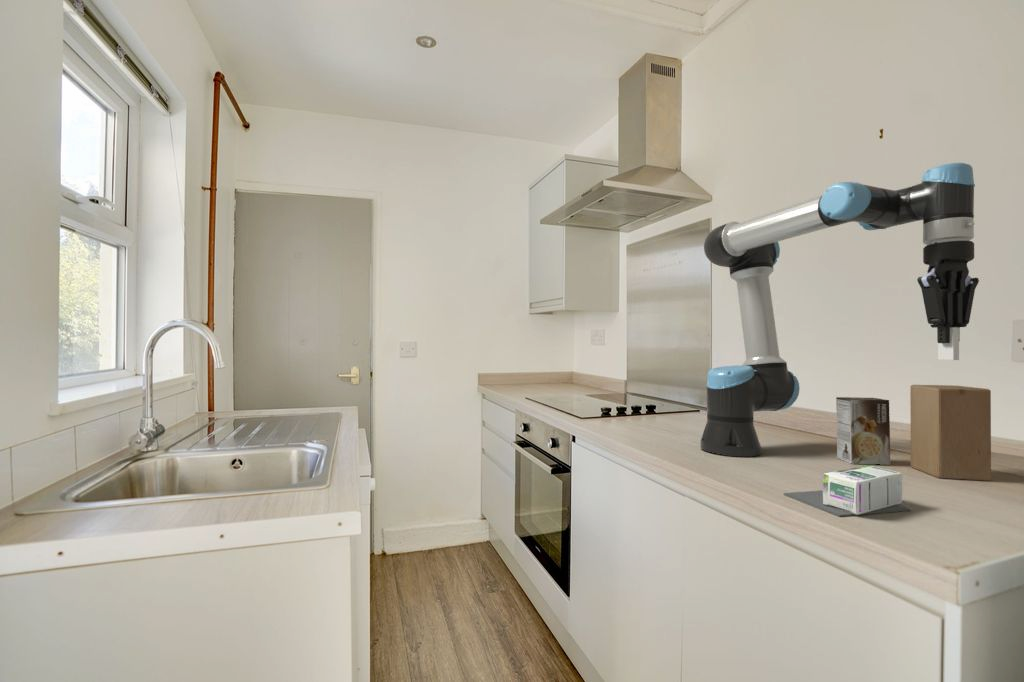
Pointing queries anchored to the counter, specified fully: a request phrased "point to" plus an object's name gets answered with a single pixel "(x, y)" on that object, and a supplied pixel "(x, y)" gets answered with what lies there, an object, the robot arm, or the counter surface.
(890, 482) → the syrup box
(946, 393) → the wooden block
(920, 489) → the counter surface
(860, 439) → the coffee box
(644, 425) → the counter surface
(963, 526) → the counter surface
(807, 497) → the mat
